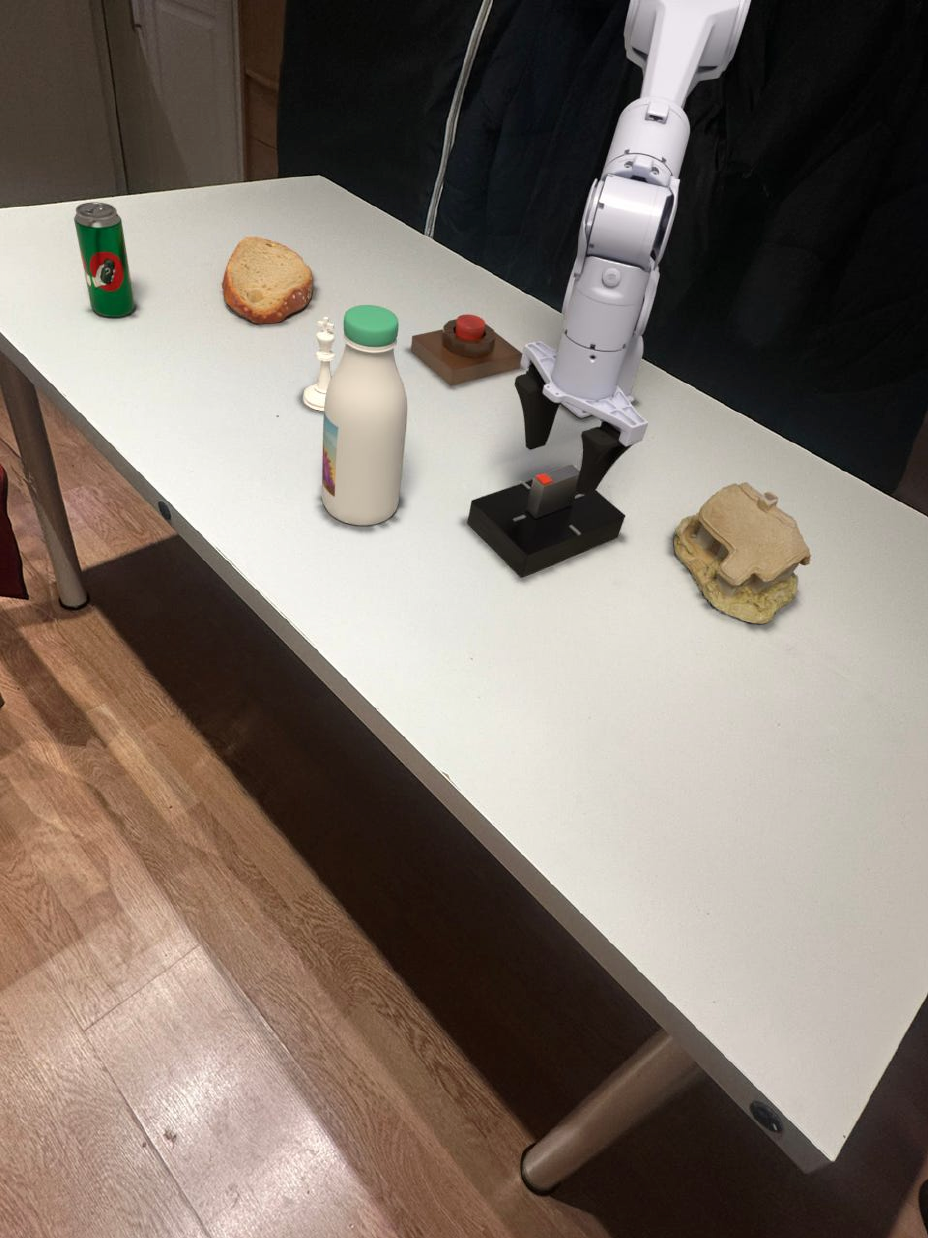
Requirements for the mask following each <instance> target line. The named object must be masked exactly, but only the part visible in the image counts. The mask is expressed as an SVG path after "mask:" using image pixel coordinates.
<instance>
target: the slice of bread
mask: <svg viewBox="0 0 928 1238" xmlns="http://www.w3.org/2000/svg"><path fill="white" fill-rule="evenodd" d="M221 289H222V293H223V299H224V301H225V303H226V304H227V305H228V306H229V307H230V308H231V309H232V310H233V311H234V312H236V313H237V314H238V315H239V316H241V317H243V318H244V319H248V321H250V322H251V323H253V324H258V325H262V324H274V323H275V324H276V323H280V322H283V321H284V320H285V319H286V317H288V316H289V315H292V314H293V313H296V312H298V311H301V310H302V309H304V308H305V307H306V306H307V305H308V304H309V302H310V301H311V298H312V296H313V295H312V294H313V289H314V277H313V272H312V269H311V267H310V266H309V265H308V264H307V265H306V263H305V262H304V260H303V257H302V256H301V255H300V254H299V253H297V252H296V251H295V250H293V249H291V248H289V247H288V246H286V245H284V244H282V243H279V242H277V241H273V240H271V239H268V238H264V237H263V238H262V237H258V236H245V237H244V238H243V239H242V240H241V241H239V242H238V243H237V245H236V247H234V250H233V252H232V254H231V256H230V258H229V259H228V263H227V265H226V267H225V270H224V274H223V277H222V284H221Z"/></svg>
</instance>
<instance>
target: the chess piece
mask: <svg viewBox="0 0 928 1238" xmlns="http://www.w3.org/2000/svg"><path fill="white" fill-rule="evenodd" d="M317 327H319V328H322V329H323V330H320V331H318V332H317V333H316V335H315V336H316V340H317V342H318V346H319V350H316V353H315V358H316V359H317V360H319V361H320V365H319V373H318V379H317V383H313V384H310V385H308V386H307V387H306V388H305V389H304V391H303V396H302V400H303V401H302V402H303V403H304V405H306V406H307V407H309V408H310V409H312V410H316V411H318V412H324V403H325V397H326V391H327V388H328V385H329V382H330V380H331V377H332V371H331V361H334V360H335V359H336V354H335V353H334V351H332V347H333V344H334V342H335V339H336V335H335V333H334V332H332V331H333V330H334V329H335V324H334V323H331V322H330V321H329V316H324V317H323V319H322V321H321V320H318V321H317ZM330 330H331V331H330Z"/></svg>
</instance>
